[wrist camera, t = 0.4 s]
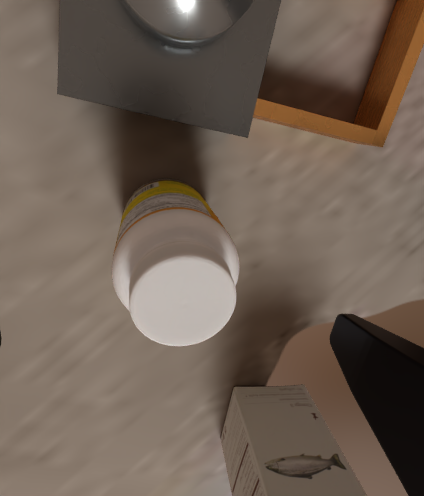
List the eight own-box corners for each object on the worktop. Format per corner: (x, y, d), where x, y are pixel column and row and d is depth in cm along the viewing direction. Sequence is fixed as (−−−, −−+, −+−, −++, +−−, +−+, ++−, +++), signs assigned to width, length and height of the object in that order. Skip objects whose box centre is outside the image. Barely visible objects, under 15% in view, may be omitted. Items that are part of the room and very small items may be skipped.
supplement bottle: (197, 261, 22) (234, 368, 13) (117, 250, 20) (94, 361, 11) (217, 186, 20) (277, 247, 11) (130, 167, 19) (115, 219, 9)
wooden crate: (430, -58, 17) (548, -129, 12) (350, 161, 21) (412, 176, 16) (89, -227, 12) (51, -455, 7) (73, 97, 17) (43, 90, 12)
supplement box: (305, 381, 29) (405, 550, 18) (284, 434, 32) (361, 611, 21) (232, 383, 28) (292, 572, 16) (217, 439, 30) (260, 636, 19)
